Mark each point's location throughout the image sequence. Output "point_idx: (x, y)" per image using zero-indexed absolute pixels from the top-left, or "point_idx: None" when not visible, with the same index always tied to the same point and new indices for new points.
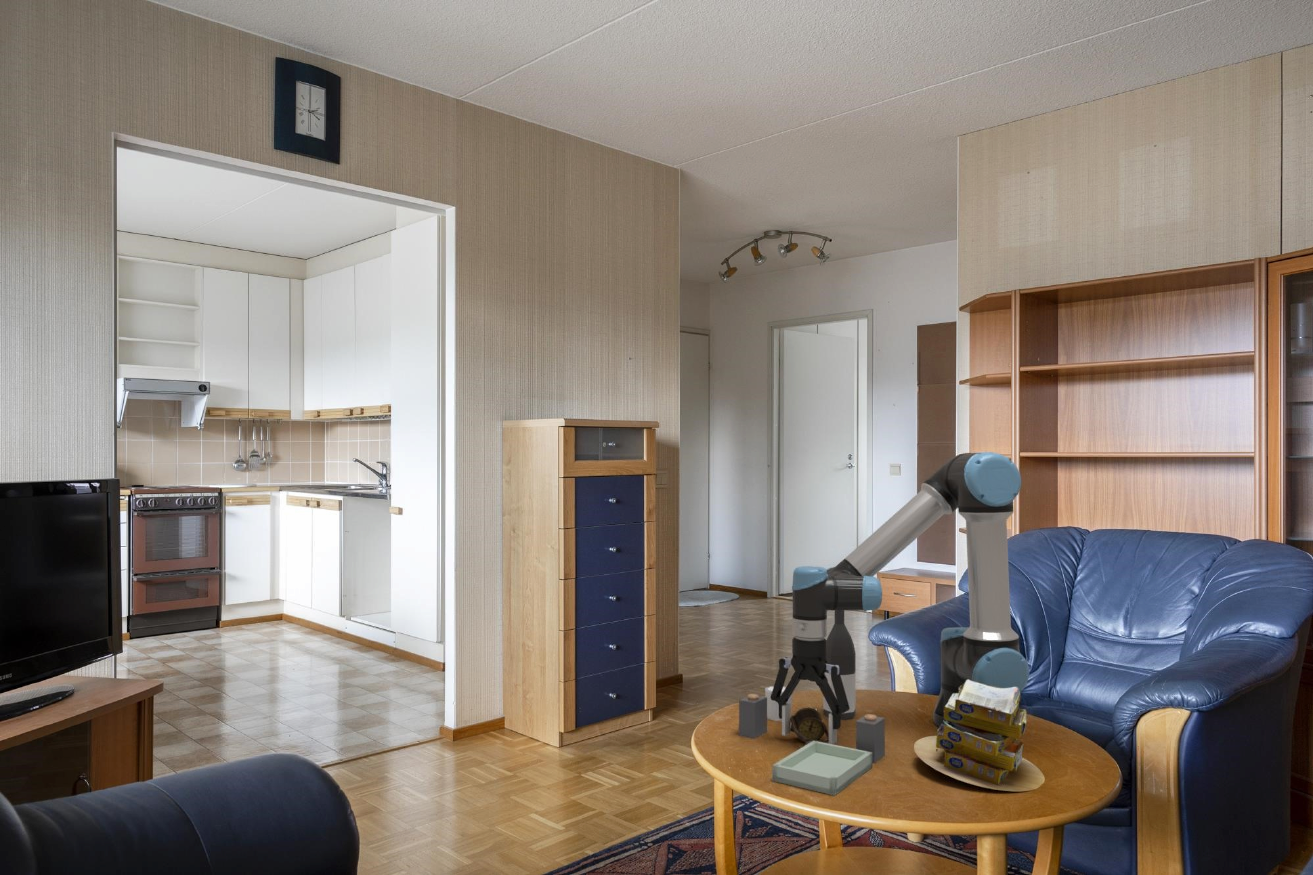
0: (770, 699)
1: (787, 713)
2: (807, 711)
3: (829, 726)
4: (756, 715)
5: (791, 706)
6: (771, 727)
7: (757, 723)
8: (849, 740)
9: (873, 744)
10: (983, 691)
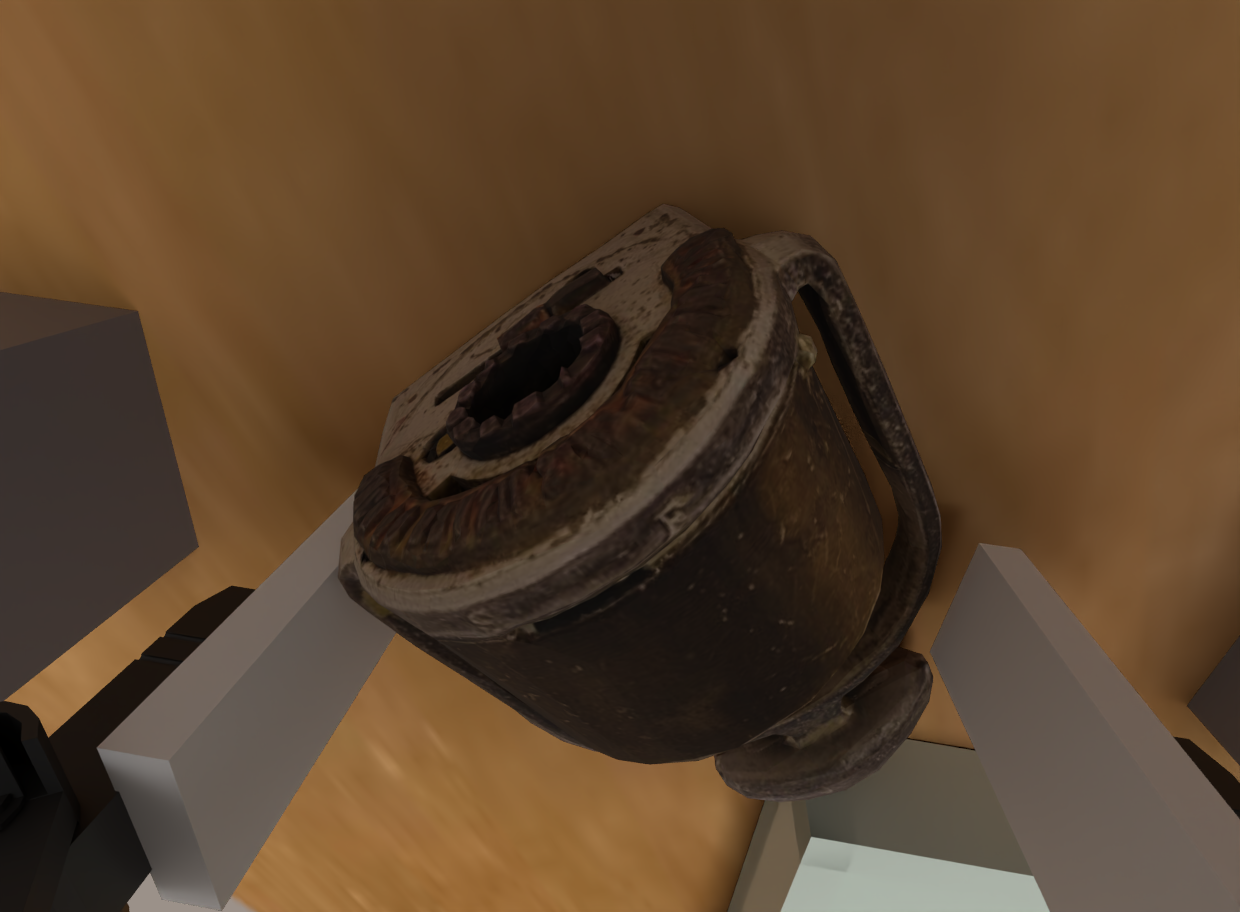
0: None
1: (300, 711)
2: (579, 668)
3: (1031, 844)
4: None
5: None
6: (39, 92)
7: (70, 577)
8: (1162, 108)
9: None
10: None
